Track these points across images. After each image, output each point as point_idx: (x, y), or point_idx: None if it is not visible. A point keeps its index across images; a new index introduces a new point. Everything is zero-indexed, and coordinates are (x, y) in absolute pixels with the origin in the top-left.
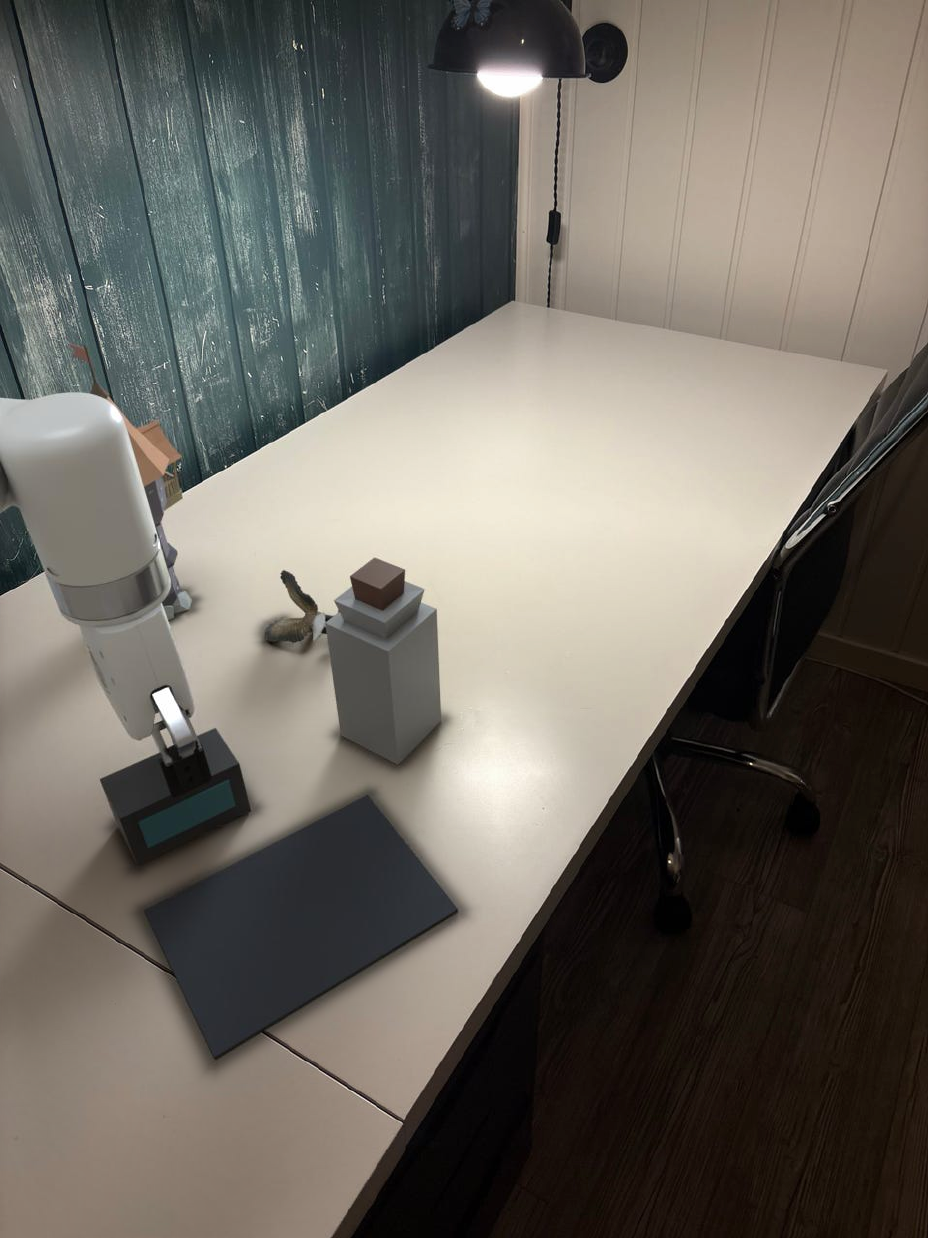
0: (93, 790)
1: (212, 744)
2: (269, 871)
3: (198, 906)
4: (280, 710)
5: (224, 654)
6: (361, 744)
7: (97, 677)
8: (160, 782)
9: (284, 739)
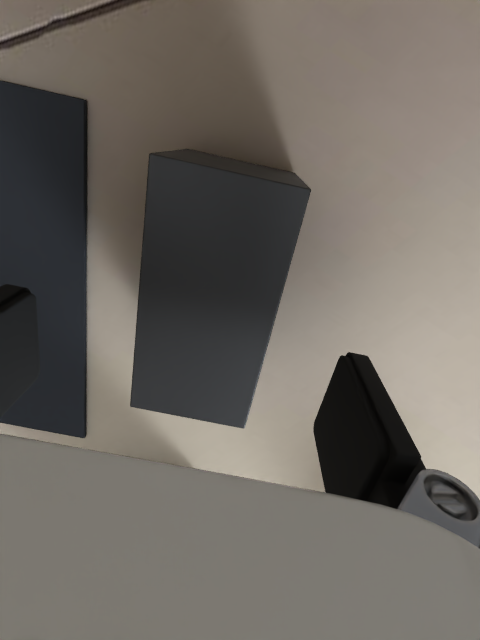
0: (409, 186)
1: (209, 403)
2: (41, 292)
3: (37, 178)
4: (294, 457)
5: (454, 476)
6: None
7: (413, 562)
8: (189, 285)
9: (245, 432)
